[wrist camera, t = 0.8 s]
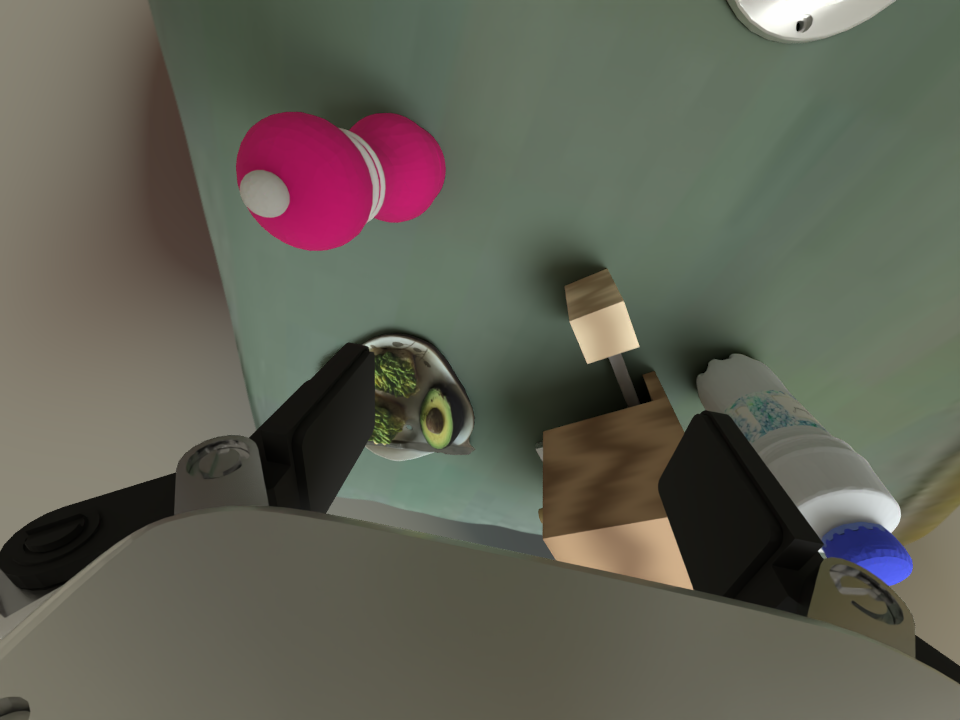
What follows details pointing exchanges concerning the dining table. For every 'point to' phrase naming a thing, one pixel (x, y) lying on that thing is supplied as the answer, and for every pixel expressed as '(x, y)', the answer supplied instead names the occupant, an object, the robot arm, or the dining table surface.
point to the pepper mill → (336, 175)
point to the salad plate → (417, 401)
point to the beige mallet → (602, 325)
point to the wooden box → (614, 491)
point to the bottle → (810, 466)
